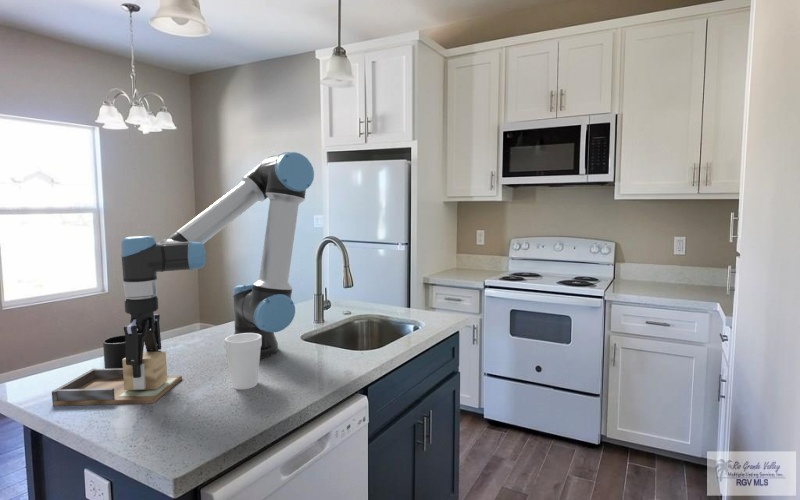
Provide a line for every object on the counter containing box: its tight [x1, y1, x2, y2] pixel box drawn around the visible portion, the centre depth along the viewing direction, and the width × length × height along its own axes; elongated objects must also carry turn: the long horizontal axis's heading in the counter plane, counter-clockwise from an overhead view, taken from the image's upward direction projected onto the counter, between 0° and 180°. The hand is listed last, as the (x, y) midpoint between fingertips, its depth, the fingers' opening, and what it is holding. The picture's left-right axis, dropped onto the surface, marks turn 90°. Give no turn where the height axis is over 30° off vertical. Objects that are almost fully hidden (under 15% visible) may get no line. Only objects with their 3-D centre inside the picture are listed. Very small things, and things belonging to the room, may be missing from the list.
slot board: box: [51, 368, 183, 407], centre depth 119 cm, size 24×16×4 cm, turn 93°
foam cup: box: [224, 333, 262, 390], centre depth 123 cm, size 10×9×13 cm
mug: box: [102, 334, 126, 369], centre depth 136 cm, size 9×12×9 cm
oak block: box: [122, 351, 168, 390], centre depth 119 cm, size 8×6×8 cm
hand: (146, 383), depth 120 cm, fingers closed on oak block, 6 cm apart
